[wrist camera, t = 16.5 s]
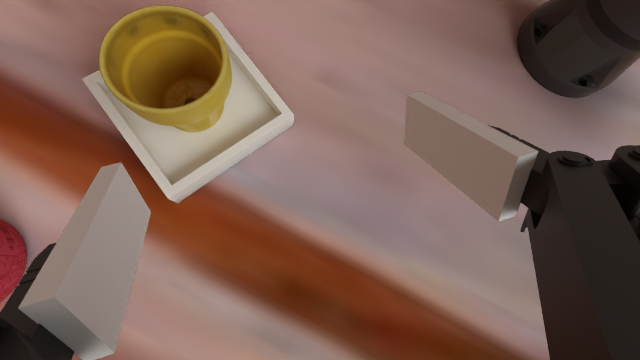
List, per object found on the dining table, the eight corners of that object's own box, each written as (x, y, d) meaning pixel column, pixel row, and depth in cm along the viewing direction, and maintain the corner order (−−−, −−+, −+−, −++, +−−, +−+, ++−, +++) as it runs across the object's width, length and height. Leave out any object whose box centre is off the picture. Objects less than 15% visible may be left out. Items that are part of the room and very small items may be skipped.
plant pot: (199, 167, 33) (169, 137, 24) (125, 112, 33) (66, 60, 24) (258, 101, 36) (252, 50, 26) (189, 51, 36) (159, -18, 27)
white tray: (217, 29, 38) (212, 11, 35) (292, 125, 37) (294, 115, 34) (97, 92, 34) (81, 79, 32) (177, 203, 33) (168, 199, 30)
